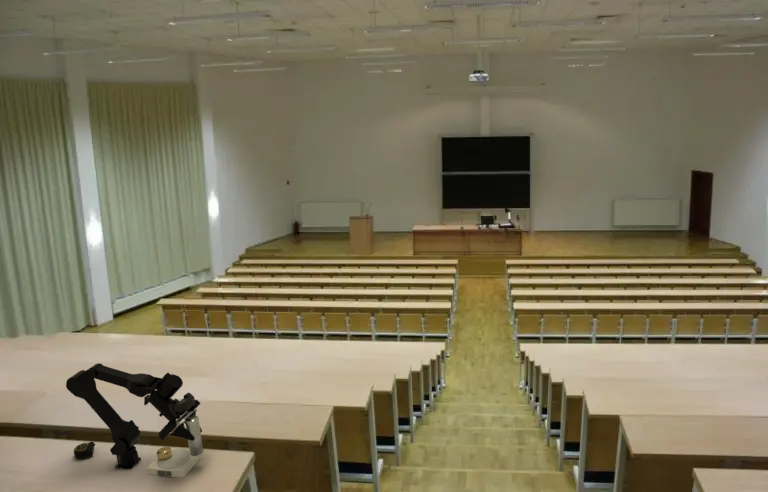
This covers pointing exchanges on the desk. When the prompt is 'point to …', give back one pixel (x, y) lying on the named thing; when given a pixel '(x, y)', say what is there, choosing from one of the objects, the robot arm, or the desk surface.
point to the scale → (174, 464)
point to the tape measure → (84, 450)
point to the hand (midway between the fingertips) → (197, 435)
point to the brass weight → (164, 453)
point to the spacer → (194, 435)
